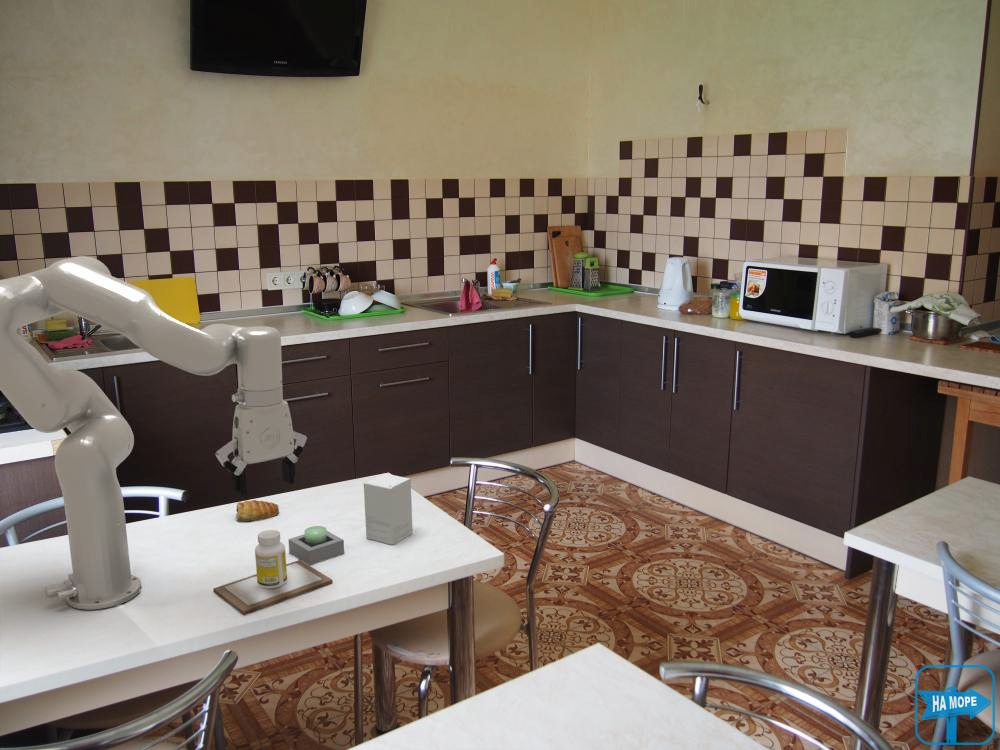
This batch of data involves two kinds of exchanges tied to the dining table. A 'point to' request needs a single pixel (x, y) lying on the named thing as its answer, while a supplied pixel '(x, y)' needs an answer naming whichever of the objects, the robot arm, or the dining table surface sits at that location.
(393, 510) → the supplement box
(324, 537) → the button
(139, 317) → the robot arm
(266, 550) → the supplement bottle
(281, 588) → the board
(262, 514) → the pastry
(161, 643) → the dining table surface
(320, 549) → the button housing
